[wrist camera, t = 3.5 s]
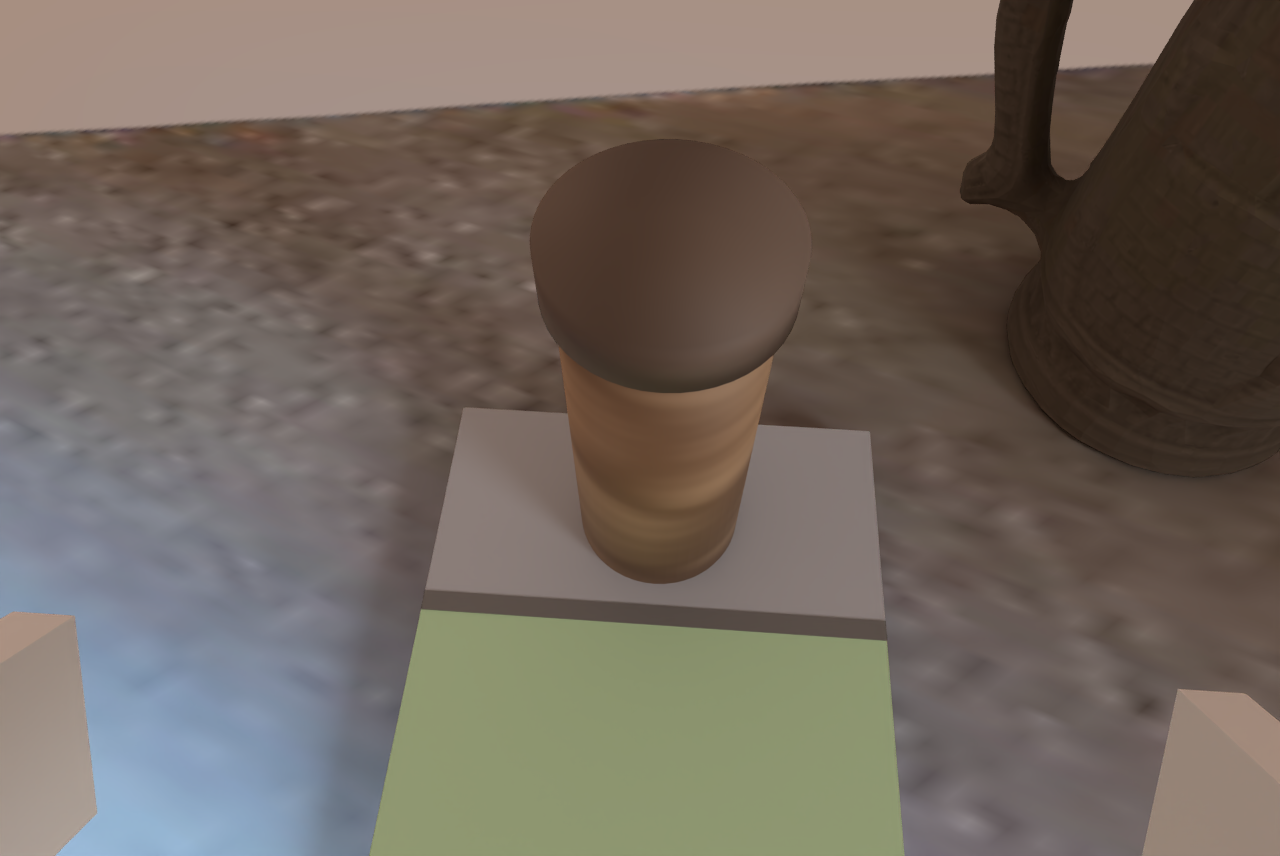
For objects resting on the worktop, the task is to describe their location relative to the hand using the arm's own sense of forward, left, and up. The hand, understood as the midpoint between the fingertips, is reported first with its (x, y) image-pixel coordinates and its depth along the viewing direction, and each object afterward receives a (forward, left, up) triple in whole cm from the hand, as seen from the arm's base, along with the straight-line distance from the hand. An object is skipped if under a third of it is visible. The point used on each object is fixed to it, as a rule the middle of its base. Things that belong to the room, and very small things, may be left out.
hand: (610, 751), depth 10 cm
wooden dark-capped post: (0, -10, -14) cm, 17 cm away
